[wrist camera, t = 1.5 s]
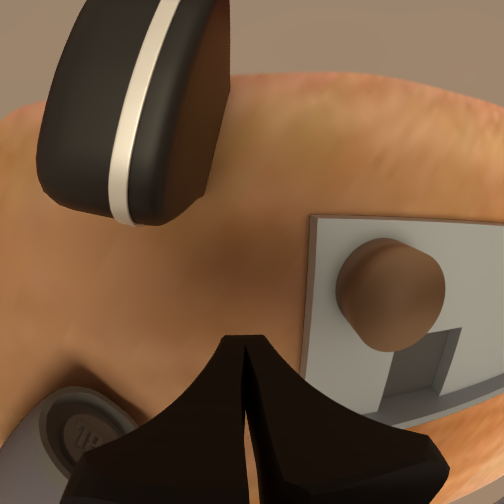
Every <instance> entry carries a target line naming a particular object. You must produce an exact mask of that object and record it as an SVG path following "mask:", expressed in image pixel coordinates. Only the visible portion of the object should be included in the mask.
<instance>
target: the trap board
mask: <svg viewBox="0 0 504 504" xmlns="http://www.w3.org/2000/svg"><path fill="white" fill-rule="evenodd" d="M377 238H391V239H395V240H397V241H400V242H402V243H404V244H406V245H409V246H411V247H413V248H415V249H417V250H420V251H422V252H424V253H426V254H428V255H430V256H431V257H433V258H434V259H435V260H436V261H437V263H438V264H439V265H440V267H441V269H442V271H443V274H444V278H445V286H446V290H445V299H444V303H443V307H442V310H441V312H440V314H439V317H438V319H437V320H436V322H435V324H434V325H433V326H432V328H431V329H430V330H429V331H428V333H427V334H426V335H425V336H424V337H422V338H421V339H420V340H419V341H418V342H416V343H415V344H413V345H411V346H409V347H407V348H405V349H402V350H400V351H395V352H381V351H377V350H374V349H372V348H370V347H369V346H367V345H366V344H365V343H364V342H363V341H362V340H361V338H360V337H359V336H358V334H357V333H356V332H355V330H354V329H353V328H352V326H351V325H350V324H349V322H348V321H347V320H346V318H345V317H344V316H343V314H342V313H341V311H340V309H339V307H338V305H337V301H336V294H335V290H336V281H337V277H338V274H339V271H340V269H341V267H342V265H343V263H344V262H345V260H346V259H347V258H348V256H349V255H350V254H351V253H352V252H353V251H354V250H355V249H356V248H358V247H359V246H361V245H362V244H364V243H366V242H368V241H370V240H373V239H377ZM299 375H300V376H301V377H302V378H303V379H304V380H306V381H307V382H308V383H309V384H310V385H312V386H313V387H314V388H316V389H317V390H319V391H320V392H321V393H323V394H324V395H326V396H327V397H329V398H330V399H332V400H334V401H335V402H337V403H339V404H341V405H343V406H345V407H346V408H348V409H350V410H352V411H354V412H356V413H358V414H361V415H363V416H365V417H368V418H370V419H373V420H375V421H378V422H381V423H383V424H386V425H389V426H392V427H396V428H400V429H405V428H409V427H413V426H416V425H419V424H423V423H426V422H429V421H432V420H435V419H438V418H441V417H444V416H447V415H450V414H453V413H456V412H458V411H461V410H464V409H466V408H469V407H471V406H474V405H476V404H479V403H481V402H484V401H486V400H488V399H491V398H493V397H495V396H497V395H499V394H502V393H504V223H492V222H478V221H464V220H447V219H430V218H409V217H385V216H355V215H310V234H309V256H308V274H307V291H306V305H305V319H304V331H303V343H302V354H301V364H300V374H299Z"/></svg>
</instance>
